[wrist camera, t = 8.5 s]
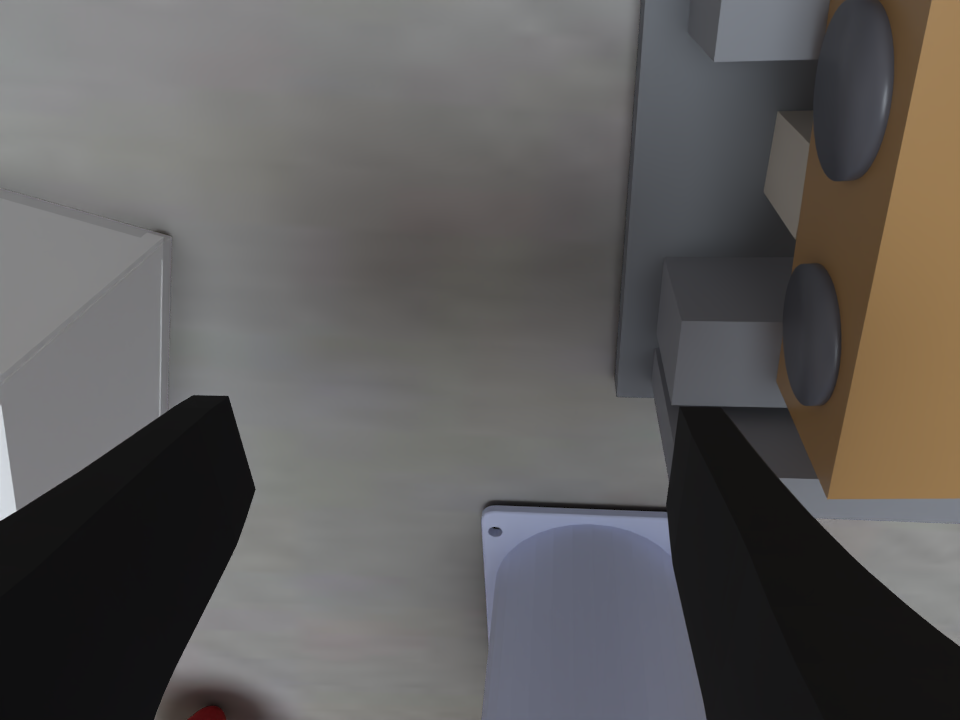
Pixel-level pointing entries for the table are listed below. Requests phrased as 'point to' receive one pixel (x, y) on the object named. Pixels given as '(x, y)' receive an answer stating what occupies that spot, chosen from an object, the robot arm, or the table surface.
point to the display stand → (725, 227)
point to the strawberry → (209, 714)
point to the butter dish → (76, 340)
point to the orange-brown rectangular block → (880, 257)
